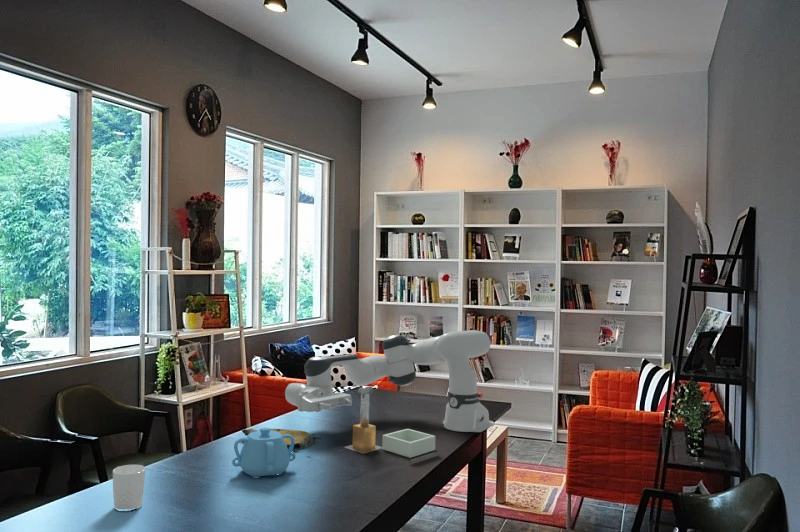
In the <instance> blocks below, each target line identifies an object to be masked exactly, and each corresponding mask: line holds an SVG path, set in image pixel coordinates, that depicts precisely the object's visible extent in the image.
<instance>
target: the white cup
mask: <svg viewBox="0 0 800 532" xmlns="http://www.w3.org/2000/svg"><path fill="white" fill-rule="evenodd" d="M145 476H146V467H145V466H144V465H141V464H126V465H125V464H124V465H121V466H117V467H115V468H114V469H112V492H113V495H112V496H113V508H114V507H115V508H117V509H123V510H124V509H133V508H137V507H139V506H141V505H142V506H143V498H144V497H143V496H144V491H145V490H144V489H145V478H146V477H145ZM142 506H141V507H142Z"/></svg>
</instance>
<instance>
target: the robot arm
mask: <svg viewBox="0 0 800 532" xmlns="http://www.w3.org/2000/svg"><path fill="white" fill-rule="evenodd" d="M410 342H411V340H410V339H408V338H406V336H403V335H402V334H401V335H400V334H393V335H390V336H387V337H386V338H385V339H383V341H382V343H381V345H382V350H383V354H384V355H383V356H382V355H378V354H377V355H370V356H366V357H363V358H360V357H359V356H358V355H355V354H350V353H348V354H338V355H337V354H336V355H328V356H312V357H309V358H308V359H307V361H306V362H305V364H304V366H303V367H304V373H305V377H306V384H305V383H299V382H292V383H288V385H287V386H286V387H285V391H284V396H285V400H286V401H287V403H289V404H291V405H292V406H296V407H297V411H298V412H306V413H307V412H308V413H313V412H316V413H318V412H321V411H323V410H326V411H330V410H333V409H334V408H338V407H344V406H346V407H351V406H352V405H353V404H352V403H353V401H352V395H351V394H348V393H345V392H333V383H332V382H333V381H332V374H331V370H332V368H333V367H342V368H343V370H344V372H345V374H346V376H347V379H348V380H349V381H350V382H351V383H352V384H353V385H356V386H358V387H362V386H363V387H364V386H367V385H370V384H372V383H374V382H377V381H379V380H381V379H382V378H384V377H388V378H387V382H391V383H392V384H393V385H395V386H397V387H398V386H399V387H406V386H409V385H411V384H413V382H415V380H416V378H417V373H416V370H415V365H414V364H416V365H419V366H420V365H421V366H430V365H435V364H436V365H437V364H442V363H445V364H446V365H447V366H446V367H447V369H448V370H447V371H448V383H449V384H448V392H447V401H448V402H447V403H446V405H445V414H444V420H442V425H443V428H445V429H447V430H450V431H453V432H462V433H464V432H465V433H468V432H469V433H470V432H471V433H482V432H483V431H487V430H488V429H489V428H491V427H493V426H495V422H494V421H492V420H490V414H489V410H488V409H487V407H485V406H484V405H483V404H481V402H480V399H479V398H481V399H483V396H484V394H483V392H479V391H477V389H478V386H477V385H478V384H477V383H478V375H477V372H476V371H475V370H474V369H472V367H471V364H470V359H473V358H477V357H481V356H484V355H485V354H487V353H488V352H489V351H490V348H491V339H490V337H489V335H488V334H487V333H486V332H484V331H481V330H477V329H471V330H458V331H457V330H456V331H449V332H447V333H443V334H441V335H438V336H434V337H429V338H426V339H423V340H420V341H418V342H415V343H410Z"/></svg>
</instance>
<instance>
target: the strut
mask: <svg viewBox="0 0 800 532" xmlns="http://www.w3.org/2000/svg"><path fill="white" fill-rule="evenodd" d="M373 392H374V389H373V387H372V386H365V387H364V386H363V387H359V388H358V389H357V394H358V395H359V396H360V413H359V416H360V417H359V418H360V419H359V420H360V421H359V423H358V424H353V425H352V442H351V443H352V444H351V445H352V447H353V448H356V449H359V450H362V451H365V450H369V449H372V448H375V445H376V432H377V429H376V428H377V426H376V425H374V424H370V394H372V393H373Z"/></svg>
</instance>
